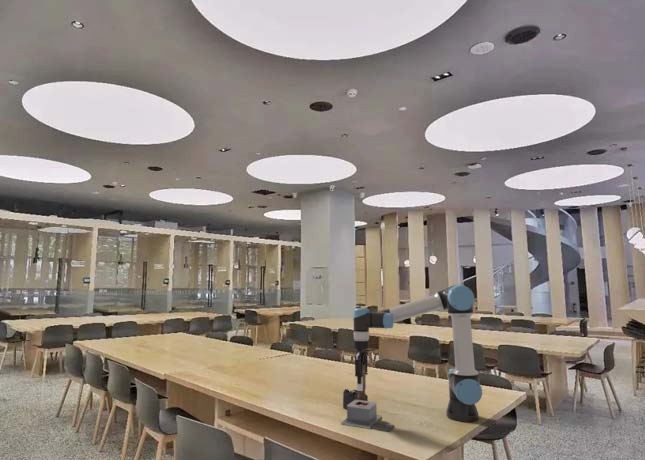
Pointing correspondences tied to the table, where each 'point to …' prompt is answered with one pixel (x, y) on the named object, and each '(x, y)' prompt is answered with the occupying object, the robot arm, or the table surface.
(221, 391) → the table surface
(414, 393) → the table surface
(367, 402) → the box
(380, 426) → the rubber mat
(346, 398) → the camera
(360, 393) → the walnut dowel
